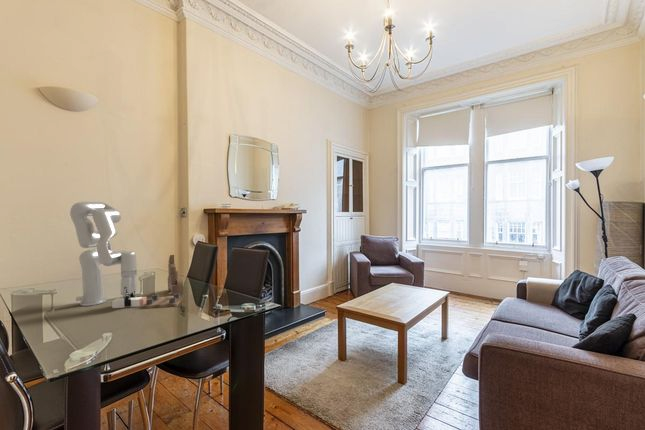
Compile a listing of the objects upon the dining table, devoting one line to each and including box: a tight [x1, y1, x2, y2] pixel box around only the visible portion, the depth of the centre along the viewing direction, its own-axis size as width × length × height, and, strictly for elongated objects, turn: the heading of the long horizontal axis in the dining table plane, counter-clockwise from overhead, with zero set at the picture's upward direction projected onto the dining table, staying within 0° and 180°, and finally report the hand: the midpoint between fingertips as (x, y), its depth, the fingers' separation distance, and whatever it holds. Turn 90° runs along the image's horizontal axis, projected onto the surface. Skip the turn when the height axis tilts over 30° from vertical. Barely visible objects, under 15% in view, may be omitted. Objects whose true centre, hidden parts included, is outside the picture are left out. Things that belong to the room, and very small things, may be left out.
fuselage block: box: [111, 296, 147, 309], centre depth 174 cm, size 16×5×4 cm, turn 100°
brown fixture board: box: [141, 293, 184, 310], centre depth 178 cm, size 18×14×4 cm
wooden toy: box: [167, 254, 184, 296], centre depth 201 cm, size 15×7×25 cm, turn 38°
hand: (129, 304), depth 174 cm, fingers closed on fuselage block, 5 cm apart
